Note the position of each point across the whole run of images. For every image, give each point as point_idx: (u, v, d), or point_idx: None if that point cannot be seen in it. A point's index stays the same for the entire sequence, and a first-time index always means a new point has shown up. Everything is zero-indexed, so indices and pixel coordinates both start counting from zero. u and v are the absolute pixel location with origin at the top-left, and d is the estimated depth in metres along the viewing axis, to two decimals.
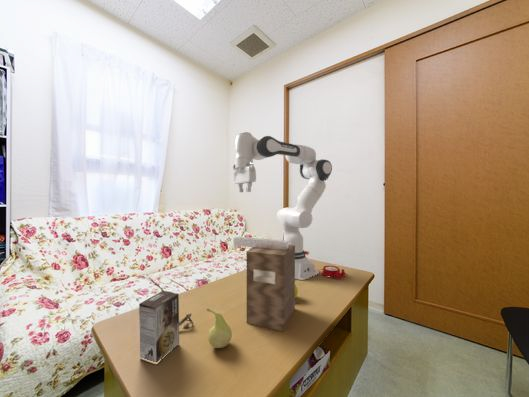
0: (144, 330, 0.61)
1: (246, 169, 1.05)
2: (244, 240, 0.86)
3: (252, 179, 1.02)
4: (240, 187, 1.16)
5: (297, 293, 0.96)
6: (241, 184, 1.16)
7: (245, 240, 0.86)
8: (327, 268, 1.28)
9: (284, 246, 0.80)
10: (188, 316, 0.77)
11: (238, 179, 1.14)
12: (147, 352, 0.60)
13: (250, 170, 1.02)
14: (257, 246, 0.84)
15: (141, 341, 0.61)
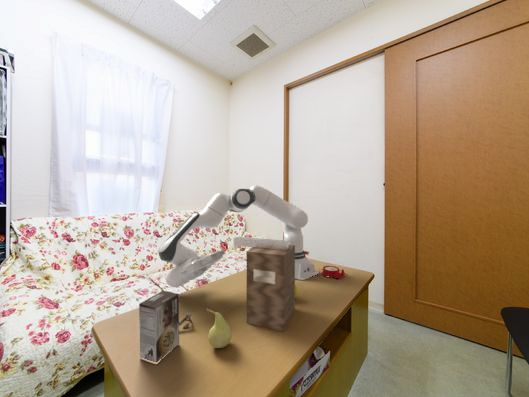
0: (144, 330, 0.60)
1: (191, 273, 0.90)
2: (244, 240, 0.86)
3: (193, 267, 0.85)
4: None
5: (297, 293, 0.96)
6: (217, 254, 0.99)
7: (245, 240, 0.86)
8: (327, 268, 1.28)
9: (284, 246, 0.80)
10: (188, 316, 0.77)
11: None
12: (147, 352, 0.60)
13: (187, 273, 0.87)
14: (257, 246, 0.84)
15: (141, 341, 0.61)
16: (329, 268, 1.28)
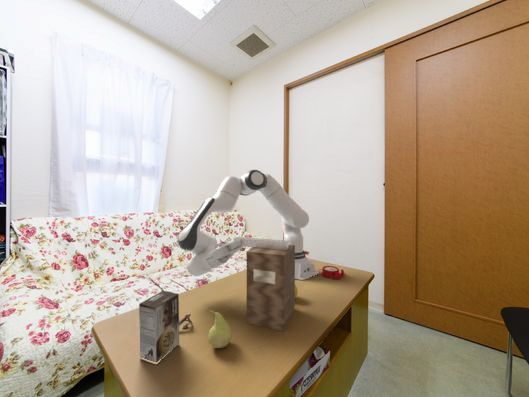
0: (144, 330, 0.60)
1: (216, 260, 0.85)
2: (244, 240, 0.86)
3: (219, 253, 0.81)
4: None
5: (297, 293, 0.96)
6: None
7: (245, 240, 0.86)
8: (326, 268, 1.28)
9: (284, 246, 0.80)
10: (187, 316, 0.76)
11: None
12: (147, 352, 0.60)
13: (212, 259, 0.82)
14: (257, 246, 0.84)
15: (141, 341, 0.61)
16: (329, 268, 1.28)
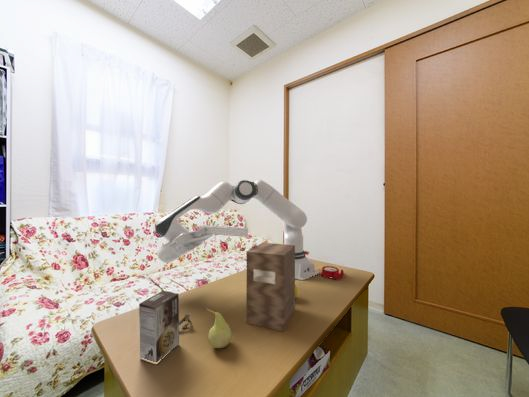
0: (144, 330, 0.60)
1: (181, 246, 0.91)
2: (208, 228, 0.92)
3: (182, 239, 0.87)
4: None
5: (297, 293, 0.96)
6: None
7: (209, 228, 0.92)
8: (326, 269, 1.27)
9: (243, 233, 0.86)
10: (187, 317, 0.76)
11: (203, 237, 0.99)
12: (147, 352, 0.60)
13: (177, 245, 0.88)
14: (219, 233, 0.90)
15: (141, 341, 0.61)
16: (328, 268, 1.27)
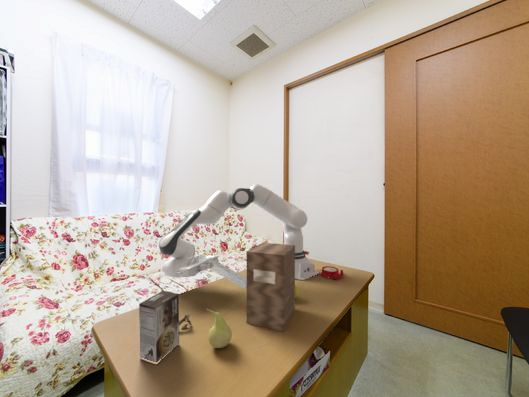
0: (144, 330, 0.60)
1: None
2: (214, 265, 0.96)
3: (188, 273, 0.91)
4: None
5: (297, 293, 0.96)
6: None
7: (214, 266, 0.96)
8: (326, 269, 1.27)
9: (244, 285, 0.90)
10: (186, 317, 0.76)
11: None
12: (147, 352, 0.60)
13: (181, 275, 0.94)
14: (222, 275, 0.94)
15: (141, 341, 0.61)
16: (328, 269, 1.27)
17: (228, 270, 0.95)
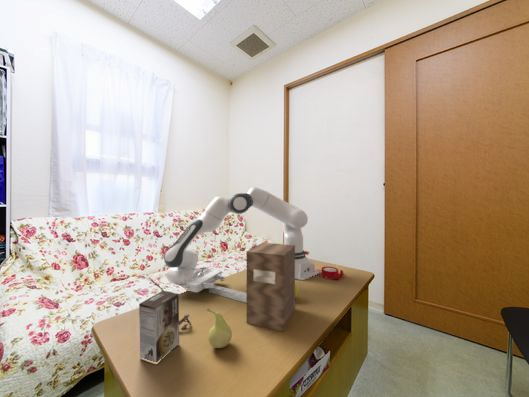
0: (144, 330, 0.60)
1: None
2: (216, 290, 1.02)
3: (195, 289, 0.96)
4: None
5: (297, 293, 0.96)
6: (217, 276, 1.10)
7: (217, 290, 1.02)
8: (325, 269, 1.27)
9: (246, 300, 0.94)
10: (186, 317, 0.76)
11: None
12: (147, 352, 0.60)
13: (188, 289, 0.98)
14: (226, 296, 0.99)
15: (141, 341, 0.61)
16: (328, 269, 1.27)
17: (230, 290, 1.00)
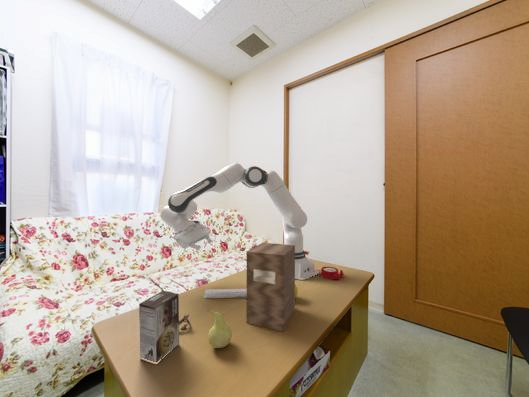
0: (144, 330, 0.60)
1: None
2: (215, 293, 0.99)
3: (183, 246, 1.02)
4: (207, 239, 1.15)
5: (297, 293, 0.96)
6: (206, 237, 1.16)
7: (216, 293, 0.99)
8: (325, 269, 1.26)
9: None
10: (186, 317, 0.76)
11: None
12: (147, 352, 0.60)
13: (177, 241, 1.04)
14: (227, 297, 0.99)
15: (141, 341, 0.61)
16: (328, 269, 1.27)
17: (231, 290, 1.00)
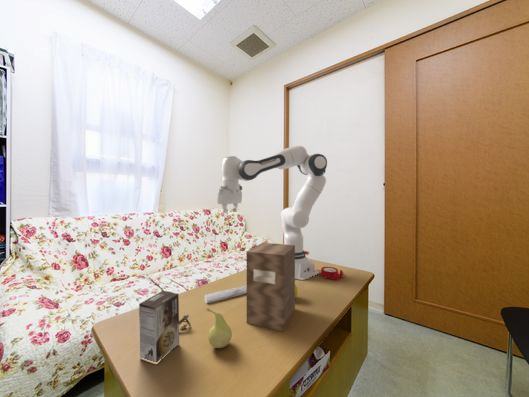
0: (144, 330, 0.60)
1: None
2: (217, 296, 0.96)
3: (219, 202, 1.09)
4: (234, 207, 1.24)
5: (297, 293, 0.96)
6: (235, 204, 1.23)
7: (218, 295, 0.96)
8: (325, 269, 1.26)
9: None
10: (185, 317, 0.76)
11: None
12: (147, 352, 0.60)
13: (218, 193, 1.10)
14: (229, 297, 0.99)
15: (141, 341, 0.61)
16: (327, 269, 1.26)
17: (231, 290, 1.01)
